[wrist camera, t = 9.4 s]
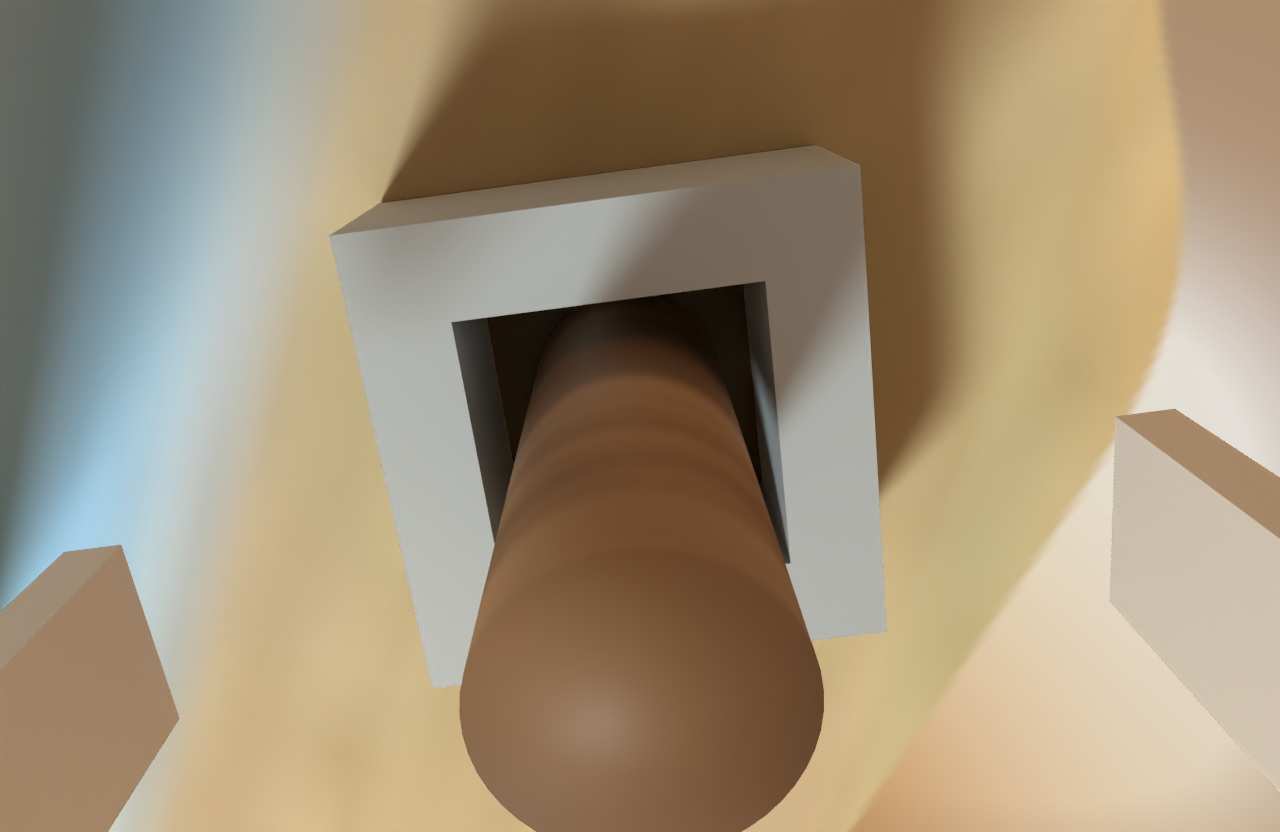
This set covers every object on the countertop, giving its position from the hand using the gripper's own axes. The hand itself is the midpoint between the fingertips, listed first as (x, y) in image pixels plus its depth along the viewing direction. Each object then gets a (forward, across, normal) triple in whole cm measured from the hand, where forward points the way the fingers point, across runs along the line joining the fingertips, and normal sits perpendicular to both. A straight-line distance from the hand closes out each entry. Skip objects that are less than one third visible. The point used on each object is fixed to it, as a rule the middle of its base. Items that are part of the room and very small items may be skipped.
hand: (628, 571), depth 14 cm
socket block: (+9, 0, 0) cm, 9 cm away
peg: (+9, 0, 0) cm, 9 cm away
